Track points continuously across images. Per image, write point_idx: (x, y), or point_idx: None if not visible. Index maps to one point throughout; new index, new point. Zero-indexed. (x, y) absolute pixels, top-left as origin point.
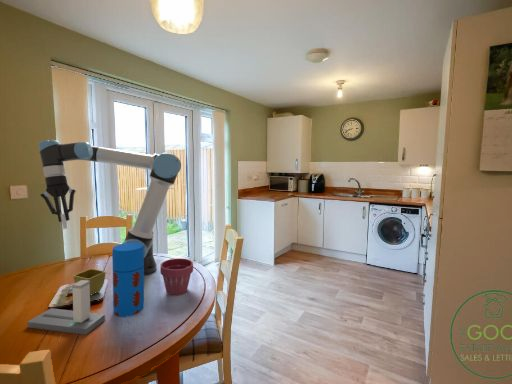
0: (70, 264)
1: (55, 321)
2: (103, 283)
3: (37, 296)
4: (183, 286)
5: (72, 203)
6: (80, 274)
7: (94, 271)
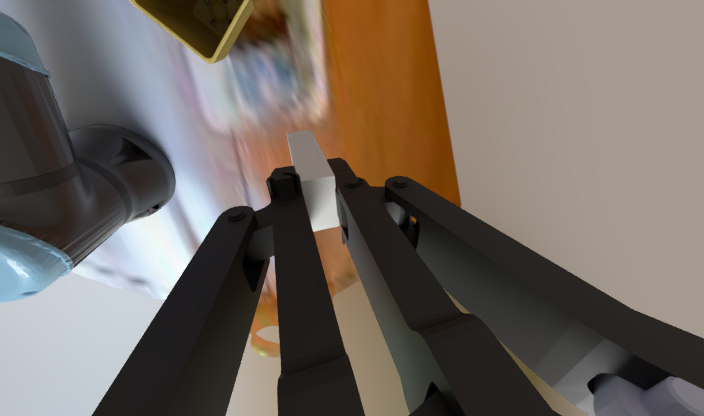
0: (346, 252)
1: None
2: (162, 5)
3: (366, 48)
4: None
5: (177, 295)
6: (234, 17)
7: (195, 47)
